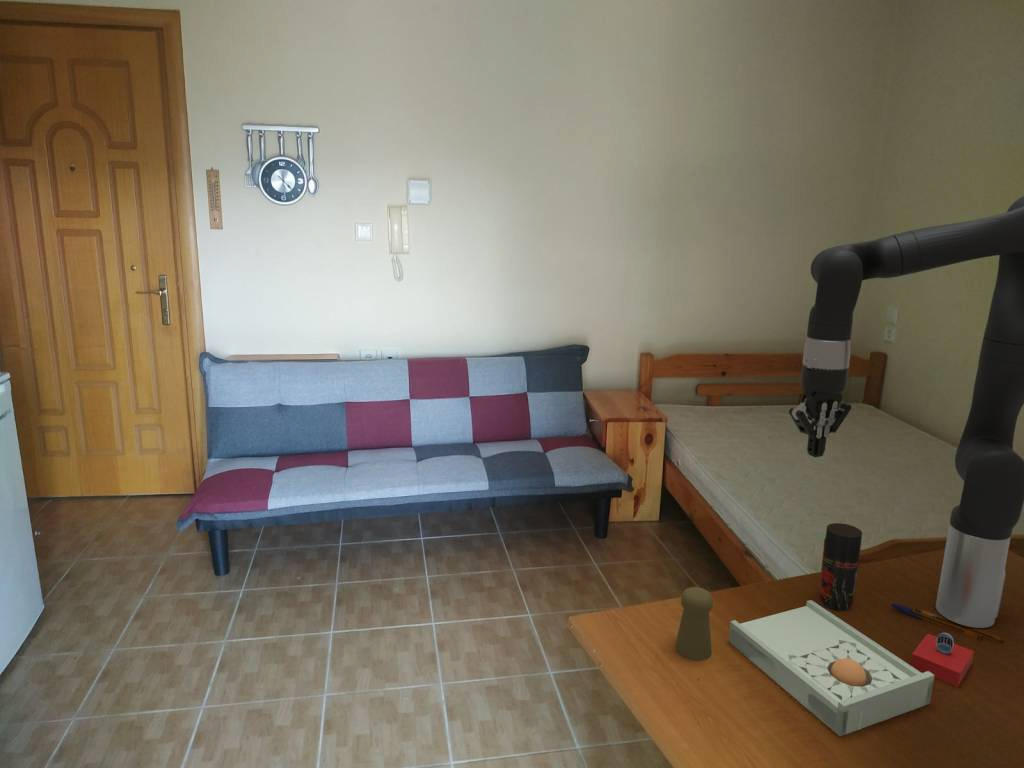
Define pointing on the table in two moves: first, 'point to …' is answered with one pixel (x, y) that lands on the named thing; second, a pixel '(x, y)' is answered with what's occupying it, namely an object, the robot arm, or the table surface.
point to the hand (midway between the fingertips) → (815, 455)
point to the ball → (849, 672)
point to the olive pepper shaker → (695, 625)
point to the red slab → (942, 658)
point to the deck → (807, 667)
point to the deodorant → (839, 566)
